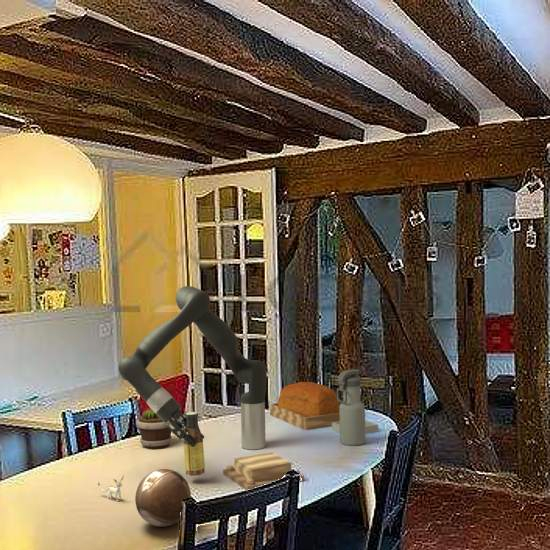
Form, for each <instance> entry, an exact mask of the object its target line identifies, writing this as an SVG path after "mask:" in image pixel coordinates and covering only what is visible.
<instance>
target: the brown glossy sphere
mask: <svg viewBox="0 0 550 550" xmlns="http://www.w3.org/2000/svg"><path fill="white" fill-rule="evenodd" d="M189 497H191V498H192V493H191V487H190V486H189V483H188V481H187V480H186V478H185V477H184V476H183V475H182V474H181V473H179V472H178V471H175V470H173V469H169V468H159V469H156V470H154V471H151V472H149V473H148V474H146V476H145V477H143V478H142V480H141V481H140V482H139V484H138V486H137V488H136V491H135V499H134V501H135V502H134V503H135V506H136V507H135V508H136V510H137V513H138V514H139V516H140V517H141V518H142V519H143V520H144V521H145V522H146V523H148V524H150V525H151V526H153V527H161V528H162V527H163V528H164V527H171V526H173V525H174V524H176V523H178V522H179V521H181V519H180V512H181V502H182V500H183V499H185V498H189Z"/></svg>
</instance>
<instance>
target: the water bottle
mask: <svg viewBox="0 0 550 550" xmlns="http://www.w3.org/2000/svg"><path fill="white" fill-rule="evenodd" d="M360 372H361V371H360V369H347V370H343V371H342V372H340V374H339V375H338V377H337V384H338V385H339V387H338V388H337V389H336V394H337V400H338V401H339V405H340V406H339V414H340V433H339V442H340V444H342V445H344V446H348V445H350V446H351V447H352V446H353V447H357V446H356V445H358V446H362V445H363V444H365V443H366V434H365V420H366V406H365V404H364V403H363V402H362V401H361V387H362V380H361V377H360V375H359V374H360ZM340 391H341V392H343V394H342V395H343V397H342V398H343V400H341V399H340ZM350 446H349V447H350Z"/></svg>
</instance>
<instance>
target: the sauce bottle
mask: <svg viewBox="0 0 550 550" xmlns="http://www.w3.org/2000/svg"><path fill="white" fill-rule="evenodd" d="M185 413H186V412H185ZM186 421H187V425H186V426H187V431H188V432H189V435H191V436H192V437H193V438H194V439H195V440H196V441H197V444H196V445H195V446H194V447H191V445H190V444H189V443H188V442H187V441H186V440H185V439H183V450H184V453H183V454H184V463H185V465H184V466H185V468H184V469H185V474H186V475H188V476H191V477H192V476H194V477H195V476H197V477H198V476H201V475H203V474H204V473H205V465H206V464H205V451H204V449H205V448H204V438H203V437H202V434H203V433H202V432H201V428H200V426H199V413H198V412H197V411H188V413H186ZM201 433H202V434H201Z"/></svg>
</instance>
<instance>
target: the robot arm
mask: <svg viewBox="0 0 550 550" xmlns="http://www.w3.org/2000/svg"><path fill="white" fill-rule="evenodd" d="M175 303H176V305H177V307H178V309H179V310H180V311H179V312H178V313H177V314H176V315H175V316H174V317H172V318H171V319H168V320H167V321H166V322H163V323H162V324H160V325H158V326H157V327H155V328H153V330H151V331H150V332H149V333H148V334H147V335H146V336H145V337H144V338H143V339H142V341H140V343H139V344H138V345H137V347H136V349H135V351H134V352H133V353H132V354H131V355H129V356H125V357H123V358H122V359H121V360H120V362H119V363H118V367H117V368H118V373H119V374H120V377H121V378H122V379H123V380H125V381H127V382H128V383H129V384H130V385H131V386H132V387H133V388H134V389H135V391H136V392H137V394H138V395H139V396H140V398H142V400H143V401H144V402H145V403H146V404H147V405H148V407H149V408H150V410H153V411H154V412H155V413H156V415H157V416H158V417H159V418H160V419H161V420H162V421H163V422H164V423H166V422H168V421H169V422H170V424H169V425H168V426H167V428H168V429H169V430H170V431H171V434H173V435H175V437H177V438H178V440H184V439H185V440H186V441H187V442H188V443H189V444H190V445H191V447H194V446H195V445H196V444H197V441H196V440H195V439H194V438H193V437H192V436H191V435H189V432H188V431H187V426H186V425H187V421H186V413H188V412H189V411H188V412H187V411H185V412H184V413H182V411H180V410H181V409H182V406H181V404H180V403H179V402H178V401H177V400H176V399H175V398H174V397H173V396H172V395H171V394H170V392H168V390H166V389H164V387H162V385H161V384H160V383H158V381H157V380H156V379H155V378H154V377H152V376H151V374H150V373H149V372H148V370H147V368H148V366H150V363H151V362H152V361H153V360H154V359H155V358H156V357H157V356H158V355H159V354H160V353H161V352H162V351H163V350H164V349H165V347H166V346H167V345H168V344H170V342H172V341H173V339H175V338H176V337H177V336H178V335H179V334H180V333H182V332H183V331H184V330H186V329H187V328H188V327H189V326H190V325H191V324H193V323H194V324H195V326H196V327H197V328H198V330H199V331H200V332H201V334H202V335H203V336H204V338H205V339H206V340H207V341H208V342H209V344H210V345H211V346H212V348H214V350H215V351H216V352H217V353H218V354H219V356H220V357H221V358H222V359H223V360H224V362H225V363H226V364H227V366H228V367H229V369H230V371H232V373H233V376H235V379H236V380H237V381H238V382H240V383H242V384H246V385H247V384H248V385H249V390H248V391H247V392H244V393H242V394H241V395H240V425H241V426H240V428H241V431H240V433H241V435H240V436H241V437H240V439H241V448H242V449H246V450H261V449H264V448H265V447H267V446H266V445H267V444H266V441H267V440H266V435H267V434H266V406H265V405H266V401H265V399H266V395H267V383H268V382H267V380H268V379H267V377H268V375H267V373H268V372H267V366H266V364H265V363H264V361H262V360H257V359H249V358H246V357H245V356H243V354H242V353H241V352H240V350H239V339H238V337H237V335H236V333H235V332H234V330H233V329H232V328H231V327H230V326H229V325H228V323H226V322H225V321H224V320H223V319H222V318H220V316H218V315H217V314H215V312H213V311H212V310H210V309H209V308H210V305H211V298H210V295H209V294H208V293H207V292H206V291H204V290H202V289H199V288H197V287H194V286H190V285H187V286H186V285H184V286H183V287H180V288H179V289H178V290H177V293H176V295H175ZM201 434H202V437H203V439H204V438H205V435H204V434H203V433H202V432H201Z"/></svg>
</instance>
